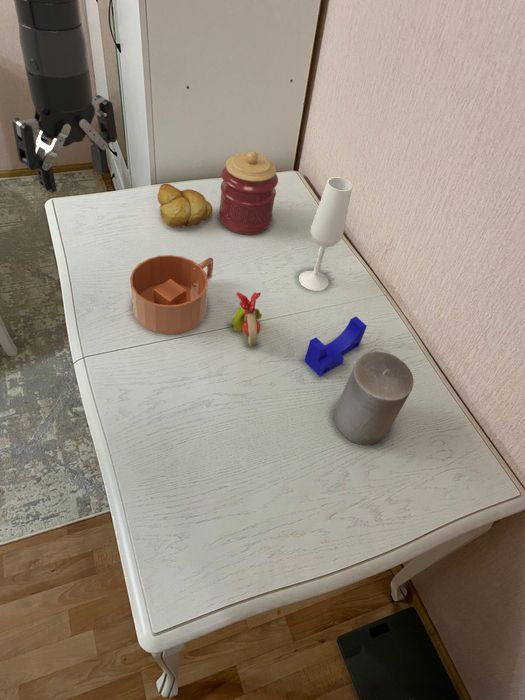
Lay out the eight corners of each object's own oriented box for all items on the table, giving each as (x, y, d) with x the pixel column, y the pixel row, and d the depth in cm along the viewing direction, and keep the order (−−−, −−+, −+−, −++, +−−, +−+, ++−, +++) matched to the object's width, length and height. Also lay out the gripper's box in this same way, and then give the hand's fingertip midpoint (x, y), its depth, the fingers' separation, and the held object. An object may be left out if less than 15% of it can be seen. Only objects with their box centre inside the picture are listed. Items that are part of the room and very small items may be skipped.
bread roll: (209, 207, 125) (210, 178, 119) (216, 231, 119) (218, 201, 113) (156, 209, 122) (155, 179, 116) (161, 233, 116) (160, 203, 110)
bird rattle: (266, 349, 100) (258, 307, 102) (279, 331, 89) (270, 284, 91) (235, 353, 98) (228, 309, 100) (245, 335, 88) (237, 287, 90)
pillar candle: (390, 408, 91) (419, 355, 80) (383, 453, 85) (414, 403, 74) (338, 392, 92) (360, 338, 81) (328, 435, 86) (350, 383, 75)
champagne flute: (312, 266, 115) (337, 170, 97) (334, 282, 112) (364, 186, 94) (292, 278, 111) (314, 180, 93) (315, 295, 109) (342, 198, 91)
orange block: (170, 317, 98) (169, 301, 95) (154, 305, 100) (153, 289, 97) (186, 306, 101) (186, 290, 98) (170, 295, 103) (170, 278, 99)
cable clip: (319, 376, 94) (326, 356, 90) (304, 361, 96) (310, 340, 92) (363, 351, 100) (372, 330, 95) (348, 336, 102) (356, 316, 97)
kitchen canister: (277, 234, 121) (289, 167, 108) (224, 238, 118) (230, 168, 104) (263, 203, 129) (272, 137, 116) (213, 205, 125) (217, 137, 112)
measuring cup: (168, 346, 94) (167, 318, 89) (117, 306, 99) (113, 277, 94) (235, 298, 105) (239, 271, 99) (187, 264, 110) (187, 236, 104)
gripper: (86, 42, 68) (99, 155, 80) (-16, 62, 59) (16, 185, 72) (122, 61, 65) (130, 176, 77) (21, 85, 57) (48, 209, 69)
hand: (75, 180), depth 74 cm, fingers open, 8 cm apart
